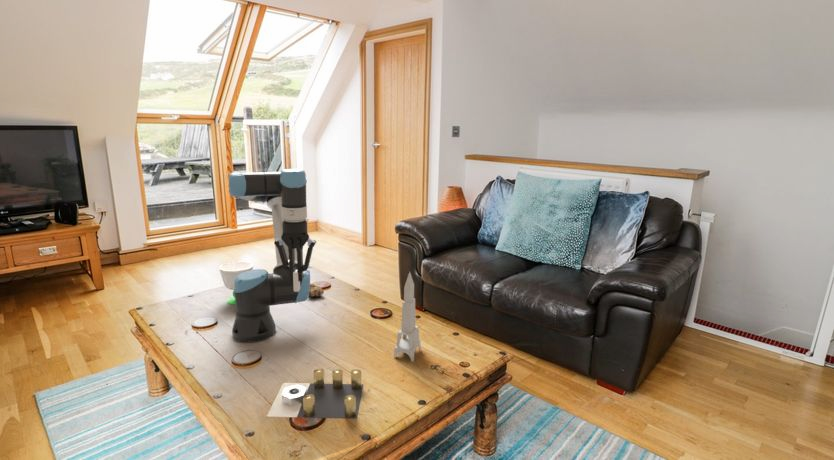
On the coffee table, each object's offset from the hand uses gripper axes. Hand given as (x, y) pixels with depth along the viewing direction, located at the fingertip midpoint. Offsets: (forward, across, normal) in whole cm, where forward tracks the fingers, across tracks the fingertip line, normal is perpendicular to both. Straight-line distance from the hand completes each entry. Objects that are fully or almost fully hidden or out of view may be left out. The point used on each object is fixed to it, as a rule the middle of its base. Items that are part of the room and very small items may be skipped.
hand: (297, 289), depth 147 cm
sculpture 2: (+24, +37, +2) cm, 44 cm away
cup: (+25, -37, +46) cm, 64 cm away
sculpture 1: (+26, -11, +56) cm, 62 cm away
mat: (+23, +12, -26) cm, 36 cm away
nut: (+22, +5, -26) cm, 34 cm away
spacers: (+22, +16, -26) cm, 38 cm away
